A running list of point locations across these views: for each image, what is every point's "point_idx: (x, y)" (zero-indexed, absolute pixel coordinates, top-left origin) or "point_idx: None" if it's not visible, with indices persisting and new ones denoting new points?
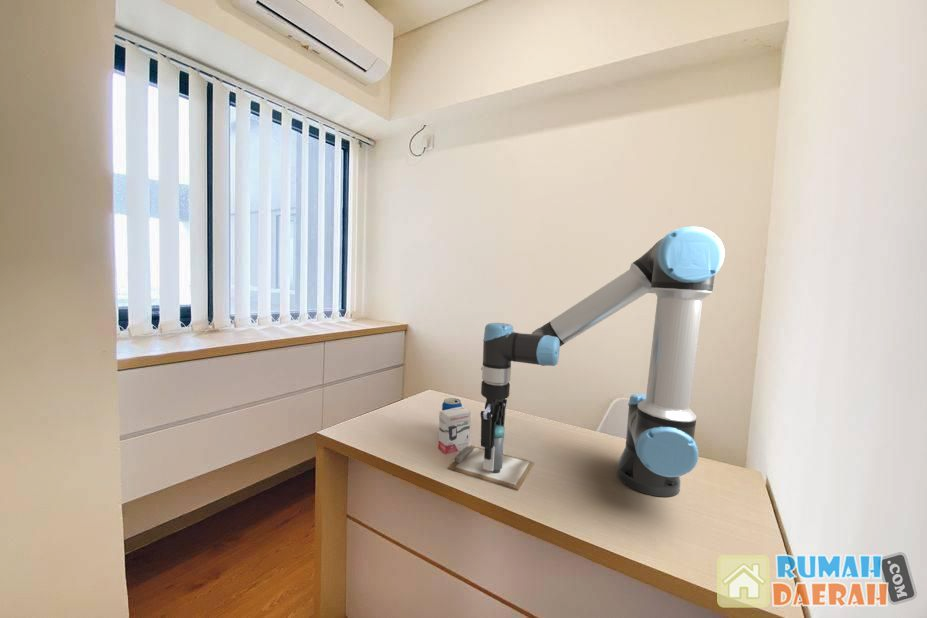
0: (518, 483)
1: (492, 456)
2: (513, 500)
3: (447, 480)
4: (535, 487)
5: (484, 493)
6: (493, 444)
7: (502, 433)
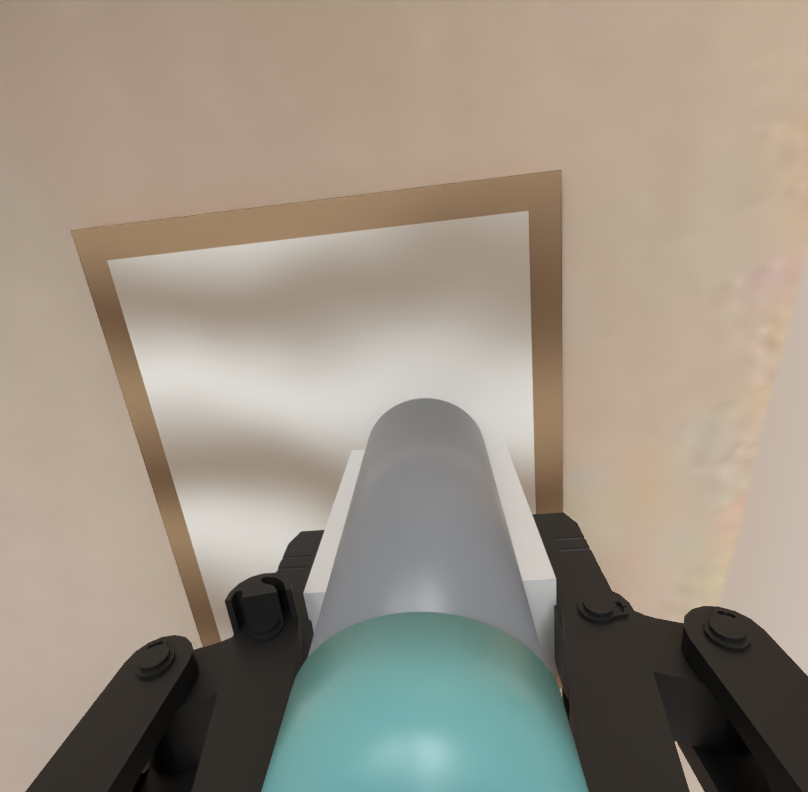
0: (481, 201)
1: (528, 516)
2: (706, 142)
3: (681, 621)
4: (420, 53)
5: (715, 373)
6: (567, 617)
7: (476, 691)
